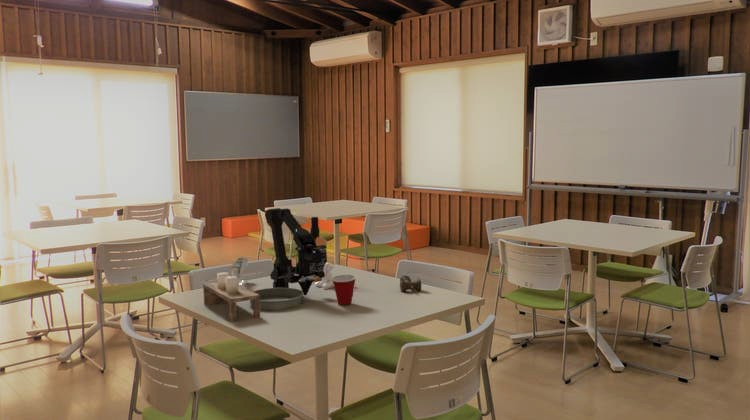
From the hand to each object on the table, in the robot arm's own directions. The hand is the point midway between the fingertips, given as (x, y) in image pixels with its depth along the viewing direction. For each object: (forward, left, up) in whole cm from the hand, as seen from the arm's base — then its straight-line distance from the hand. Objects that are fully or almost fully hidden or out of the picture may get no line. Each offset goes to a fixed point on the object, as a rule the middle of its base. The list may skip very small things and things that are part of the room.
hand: (305, 295), depth 284 cm
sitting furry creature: (-19, -15, -2) cm, 24 cm away
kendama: (-48, +13, -2) cm, 50 cm away
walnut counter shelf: (+35, 0, -2) cm, 35 cm away
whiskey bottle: (-24, -35, -2) cm, 43 cm away
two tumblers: (+36, 0, +8) cm, 37 cm away
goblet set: (+15, -41, -2) cm, 44 cm away
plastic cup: (-9, +19, -2) cm, 21 cm away
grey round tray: (+14, 0, -2) cm, 14 cm away
